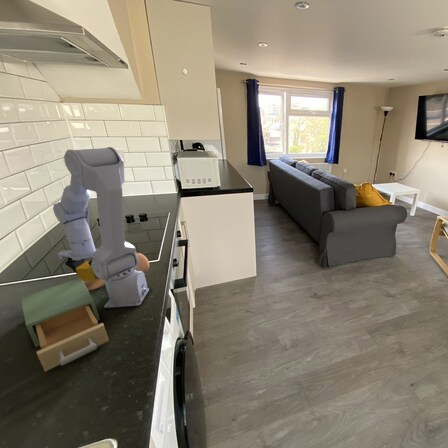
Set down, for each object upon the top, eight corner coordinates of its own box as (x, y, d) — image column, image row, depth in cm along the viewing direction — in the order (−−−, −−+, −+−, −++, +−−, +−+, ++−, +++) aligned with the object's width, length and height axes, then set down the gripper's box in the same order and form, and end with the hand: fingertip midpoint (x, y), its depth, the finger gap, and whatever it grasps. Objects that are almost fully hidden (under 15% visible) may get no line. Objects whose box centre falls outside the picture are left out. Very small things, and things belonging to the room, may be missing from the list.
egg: (152, 268, 95) (148, 247, 92) (149, 279, 88) (144, 257, 85) (129, 271, 92) (123, 250, 89) (124, 283, 86) (118, 260, 83)
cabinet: (100, 319, 70) (93, 299, 68) (35, 347, 61) (25, 325, 59) (86, 296, 79) (80, 277, 77) (29, 317, 70) (20, 297, 68)
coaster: (115, 274, 90) (115, 273, 90) (101, 290, 82) (101, 289, 82) (86, 276, 89) (86, 275, 89) (69, 292, 81) (69, 291, 81)
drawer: (114, 350, 60) (109, 334, 58) (48, 384, 52) (39, 367, 50) (94, 314, 71) (89, 299, 69) (36, 337, 63) (29, 321, 61)
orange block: (94, 281, 83) (91, 268, 81) (79, 281, 83) (75, 268, 81) (104, 273, 87) (100, 261, 85) (89, 273, 87) (85, 261, 85)
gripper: (44, 245, 76) (58, 284, 81) (96, 245, 76) (107, 284, 81) (63, 235, 82) (75, 272, 87) (111, 235, 83) (120, 272, 88)
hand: (92, 277), depth 85 cm, fingers closed on orange block, 4 cm apart
